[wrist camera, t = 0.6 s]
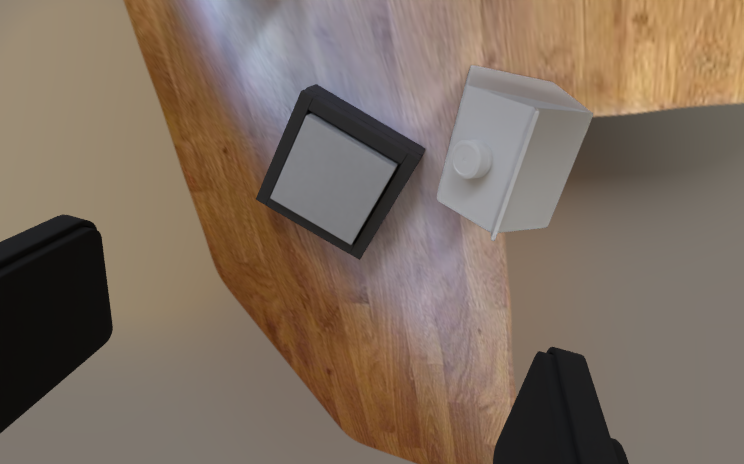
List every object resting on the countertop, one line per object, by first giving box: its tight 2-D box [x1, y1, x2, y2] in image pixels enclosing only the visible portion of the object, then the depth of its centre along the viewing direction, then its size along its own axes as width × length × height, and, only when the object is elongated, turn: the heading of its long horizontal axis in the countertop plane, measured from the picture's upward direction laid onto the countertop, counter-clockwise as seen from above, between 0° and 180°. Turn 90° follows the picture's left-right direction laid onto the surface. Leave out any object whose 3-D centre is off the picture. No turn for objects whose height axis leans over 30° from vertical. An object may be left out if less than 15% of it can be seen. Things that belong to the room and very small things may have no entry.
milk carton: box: [437, 65, 593, 241], centre depth 31 cm, size 7×7×19 cm
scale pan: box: [270, 113, 398, 245], centre depth 41 cm, size 9×9×2 cm
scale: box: [256, 84, 425, 259], centre depth 43 cm, size 12×12×4 cm
